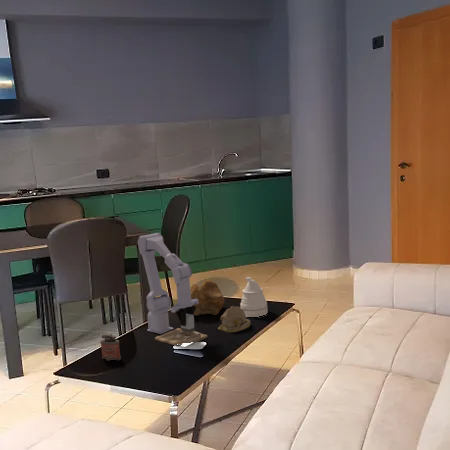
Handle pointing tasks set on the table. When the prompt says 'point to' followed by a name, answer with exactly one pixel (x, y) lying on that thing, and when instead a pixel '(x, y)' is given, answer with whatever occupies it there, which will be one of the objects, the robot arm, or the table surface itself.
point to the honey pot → (253, 300)
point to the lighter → (110, 347)
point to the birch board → (180, 337)
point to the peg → (189, 324)
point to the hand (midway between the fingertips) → (186, 324)
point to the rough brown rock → (207, 298)
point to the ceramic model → (234, 320)
